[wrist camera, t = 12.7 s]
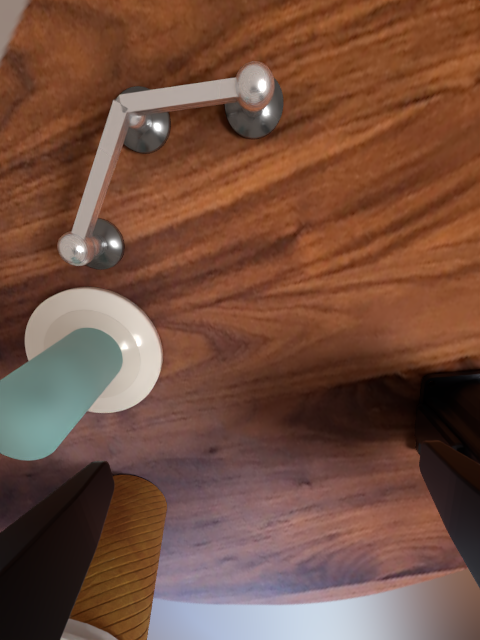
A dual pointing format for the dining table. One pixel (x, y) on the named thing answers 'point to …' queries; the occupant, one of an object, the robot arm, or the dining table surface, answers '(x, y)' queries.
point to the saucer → (118, 322)
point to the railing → (151, 134)
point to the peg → (55, 392)
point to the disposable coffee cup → (122, 567)
